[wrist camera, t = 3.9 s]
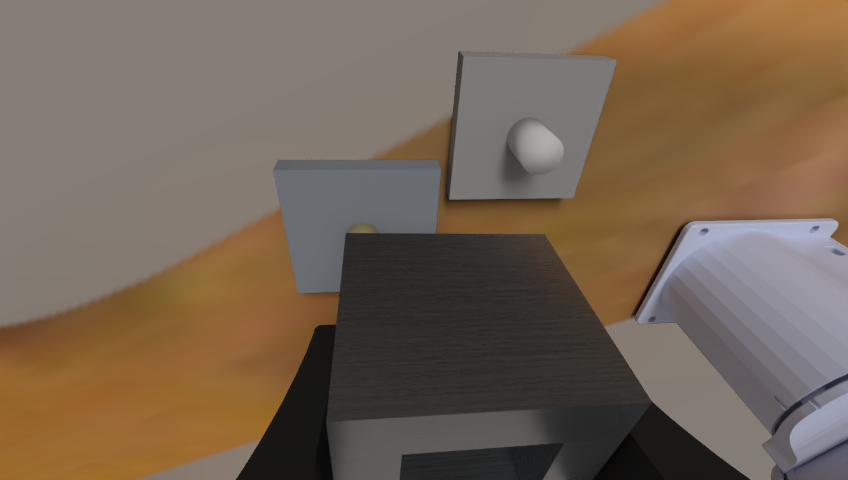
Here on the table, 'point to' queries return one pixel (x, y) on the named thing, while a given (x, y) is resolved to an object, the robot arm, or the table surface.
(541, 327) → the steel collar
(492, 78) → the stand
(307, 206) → the hub plate
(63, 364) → the table surface
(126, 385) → the table surface
